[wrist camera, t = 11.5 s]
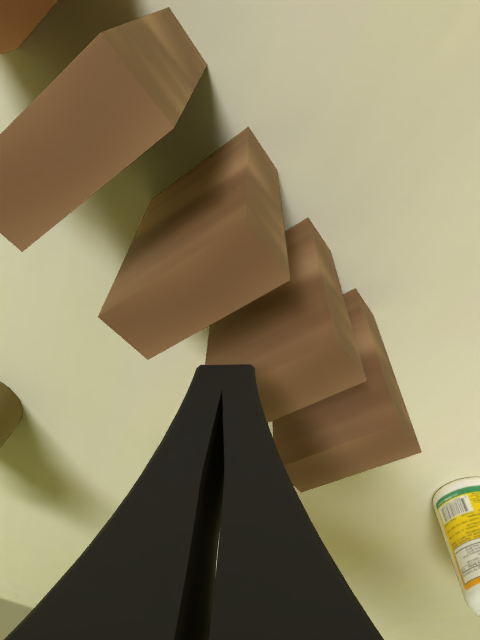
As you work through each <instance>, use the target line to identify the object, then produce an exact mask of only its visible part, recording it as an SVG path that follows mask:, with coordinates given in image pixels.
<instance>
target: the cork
mask: <svg viewBox="0 0 480 640" xmlns="http://www.w3.org/2000/svg"><path fill="white" fill-rule="evenodd" d="M22 415H23V407H22V405H21V403H20V400H19V398H18V397H17V396H16V395H15V394H14V393H13V392H12V390H11V389H10V388H8V387H7V386H6V385H4V384H3V383H1V382H0V447H1V446H2V445H3V443H4V442H5V441H6V439H7V438H8V436H9V435H10V434H11V432H12V431H13V430H14V428H15V427H16V425H17V424H18V423H19V421H20V420H21V419H22Z"/></svg>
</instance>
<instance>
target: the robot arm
mask: <svg viewBox="0 0 480 640" xmlns="http://www.w3.org/2000/svg"><path fill="white" fill-rule="evenodd" d="M220 525H221V526H220ZM219 533H220V536H219ZM218 541H219V547H218ZM217 549H218V558H217ZM216 560H217V568H216ZM215 576H216V578H215ZM4 640H384V639H383V637H382V636H381V635H380V633H379V632H378V630H377V629H376V627H375V626H374V624H373V623H372V621H371V620H370V618H369V617H368V615H367V614H366V612H365V610H364V609H363V607H362V606H361V604H360V603H359V601H358V600H357V598H356V597H355V595H354V594H353V592H352V590H351V589H350V587H349V585H348V584H347V582H346V580H345V579H344V577H343V575H342V574H341V572H340V570H339V569H338V567H337V565H336V564H335V562H334V561H333V559H332V557H331V556H330V554H329V552H328V551H327V549H326V547H325V546H324V544H323V542H322V540H321V538H320V537H319V535H318V533H317V531H316V529H315V527H314V526H313V524H312V522H311V520H310V518H309V516H308V514H307V513H306V511H305V509H304V507H303V505H302V503H301V501H300V499H299V497H298V495H297V493H296V491H295V489H294V487H293V484H292V482H291V480H290V478H289V476H288V474H287V471H286V469H285V467H284V464H283V462H282V460H281V457H280V455H279V453H278V450H277V448H276V445H275V443H274V440H273V437H272V434H271V432H270V429H269V426H268V423H267V421H266V417H265V414H264V411H263V408H262V404H261V401H260V397H259V393H258V388H257V383H256V376H255V367H253V366H252V365H251V364H233V365H200V366H199V367H198V368H197V369H196V371H195V374H194V377H193V379H192V382H191V384H190V387H189V389H188V391H187V393H186V396H185V398H184V400H183V402H182V404H181V406H180V408H179V410H178V412H177V414H176V416H175V418H174V419H173V421H172V423H171V425H170V427H169V429H168V431H167V432H166V434H165V436H164V438H163V440H162V441H161V443H160V445H159V446H158V448H157V450H156V451H155V453H154V454H153V456H152V458H151V459H150V461H149V463H148V464H147V466H146V467H145V469H144V471H143V472H142V474H141V475H140V477H139V478H138V480H137V481H136V483H135V484H134V486H133V487H132V489H131V490H130V492H129V493H128V495H127V496H126V497H125V499H124V500H123V502H122V503H121V504H120V506H119V507H118V508H117V510H116V511H115V513H114V514H113V515H112V517H111V518H110V519H109V520H108V522H107V523H106V524H105V526H104V527H103V528H102V529H101V531H100V532H99V533H98V535H97V536H96V537H95V538H94V540H93V541H92V542H91V544H90V545H89V546H88V547H87V548H86V550H85V551H84V552H83V553H82V555H81V556H80V557H79V558H78V559H77V560H76V562H75V563H74V564H73V565H72V566H71V567H70V569H69V570H68V571H67V572H66V573H65V574H64V575H63V576H62V578H61V579H60V580H59V581H58V582H57V583H56V584H55V585H54V587H53V588H52V589H51V590H50V591H49V592H48V593H47V595H46V596H45V597H44V598H43V599H42V600H41V601H40V602H39V604H38V605H37V606H36V607H35V608H34V609H33V610H32V611H31V612H30V613H29V614H28V615H27V617H26V618H25V619H24V620H23V621H22V622H21V623H20V624H19V625H18V626H17V627H16V628H15V629H14V630H13V631H12V632H11V633H10V634H9V635H8V636H7V637H6V638H5V639H4Z"/></svg>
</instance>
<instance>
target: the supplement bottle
mask: <svg viewBox="0 0 480 640" xmlns="http://www.w3.org/2000/svg"><path fill="white" fill-rule="evenodd" d="M433 507H434V510H435V513H436V516H437V519H438V522H439V525H440V528H441V531H442V533H443V536H444V539H445V542H446V545H447V548H448V551H449V554H450V557H451V560H452V563H453V566H454V569H455V572H456V575H457V578H458V581H459V584H460V587H461V590H462V593H463V596H464V599H465V601H466V603H467V605H468V607H469V608H470V609H471V610H472V611H473V612H474V613H475V614H476V615H478V616H479V617H480V477H469V478H463V479H459V480H456V481H453V482H451V483H448V484H446V485H445V486H443V487H442V488H440V489H439V490H438V491H437V492H436V494H435V496H434V498H433Z"/></svg>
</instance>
